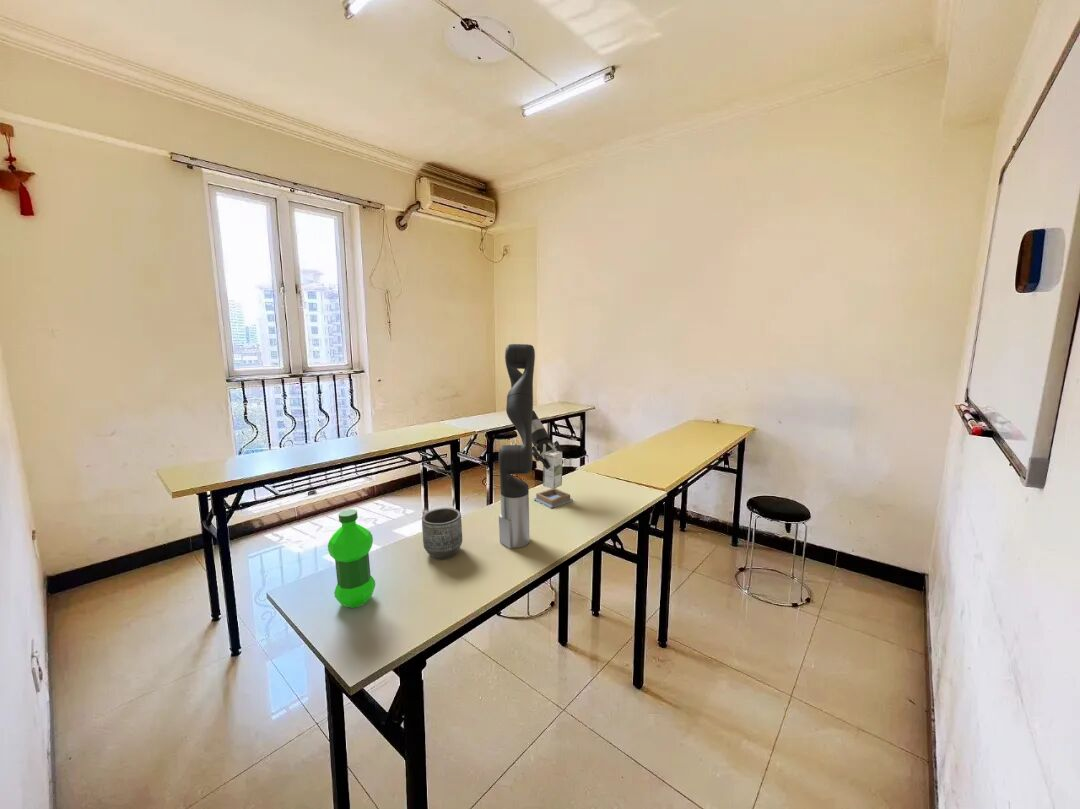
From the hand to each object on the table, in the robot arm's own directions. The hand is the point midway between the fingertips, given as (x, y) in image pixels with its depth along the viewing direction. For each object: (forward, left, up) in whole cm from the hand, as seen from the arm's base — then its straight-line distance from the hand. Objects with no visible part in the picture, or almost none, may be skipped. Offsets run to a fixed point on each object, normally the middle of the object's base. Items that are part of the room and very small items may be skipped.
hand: (555, 466), depth 172 cm
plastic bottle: (-83, -15, -15) cm, 86 cm away
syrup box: (0, +2, -9) cm, 9 cm away
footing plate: (0, +2, -15) cm, 15 cm away
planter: (-54, -7, -15) cm, 57 cm away
